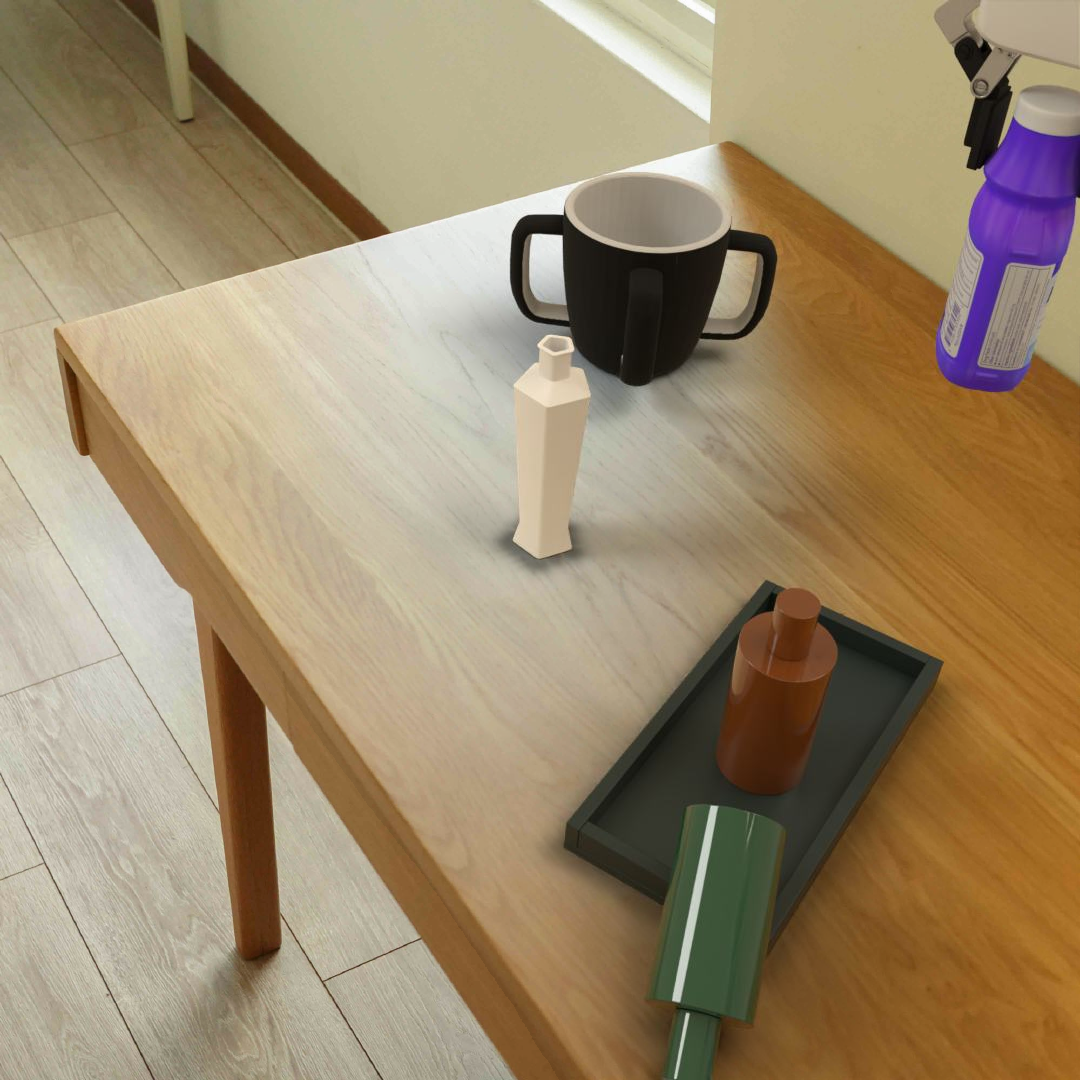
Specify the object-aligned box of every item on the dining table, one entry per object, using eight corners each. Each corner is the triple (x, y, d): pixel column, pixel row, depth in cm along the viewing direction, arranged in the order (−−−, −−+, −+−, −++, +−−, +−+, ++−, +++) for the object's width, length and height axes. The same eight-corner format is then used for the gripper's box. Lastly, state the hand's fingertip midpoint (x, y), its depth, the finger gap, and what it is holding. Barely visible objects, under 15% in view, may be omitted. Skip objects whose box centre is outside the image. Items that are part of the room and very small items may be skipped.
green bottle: (808, 838, 64) (764, 1105, 59) (728, 837, 68) (680, 1088, 63) (742, 803, 61) (690, 1080, 56) (662, 804, 65) (607, 1063, 60)
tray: (935, 685, 80) (944, 661, 78) (763, 964, 65) (770, 940, 64) (760, 603, 84) (766, 578, 83) (563, 847, 70) (565, 822, 68)
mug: (779, 370, 104) (807, 230, 96) (612, 434, 97) (628, 289, 89) (649, 274, 114) (665, 140, 106) (489, 326, 106) (493, 186, 99)
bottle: (1027, 407, 81) (1121, 130, 70) (932, 393, 82) (1008, 117, 70) (1019, 344, 87) (1104, 78, 75) (929, 332, 87) (1000, 66, 76)
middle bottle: (820, 751, 75) (866, 595, 67) (781, 810, 72) (823, 654, 64) (740, 711, 77) (775, 555, 69) (698, 767, 74) (730, 610, 66)
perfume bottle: (502, 557, 86) (510, 362, 76) (514, 513, 90) (523, 321, 80) (572, 567, 86) (590, 372, 76) (582, 523, 89) (600, 331, 79)
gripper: (1347, -159, 63) (1207, 198, 75) (993, -219, 70) (915, 116, 82) (1318, -127, 58) (1172, 249, 70) (941, -195, 65) (866, 158, 77)
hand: (1035, 174), depth 76 cm, fingers closed on bottle, 5 cm apart
